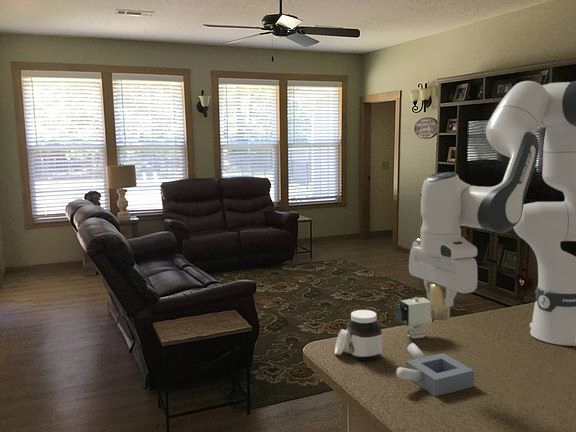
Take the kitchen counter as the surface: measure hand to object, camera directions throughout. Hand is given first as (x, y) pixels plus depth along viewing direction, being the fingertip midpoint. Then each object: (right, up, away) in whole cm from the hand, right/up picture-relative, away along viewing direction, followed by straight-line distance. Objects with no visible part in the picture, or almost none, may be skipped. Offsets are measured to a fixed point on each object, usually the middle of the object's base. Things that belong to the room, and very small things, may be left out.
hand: (439, 302), depth 117 cm
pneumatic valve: (+2, -16, +31) cm, 35 cm away
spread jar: (-17, -18, +19) cm, 31 cm away
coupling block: (-3, -19, +5) cm, 20 cm away
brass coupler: (0, -4, 0) cm, 4 cm away
